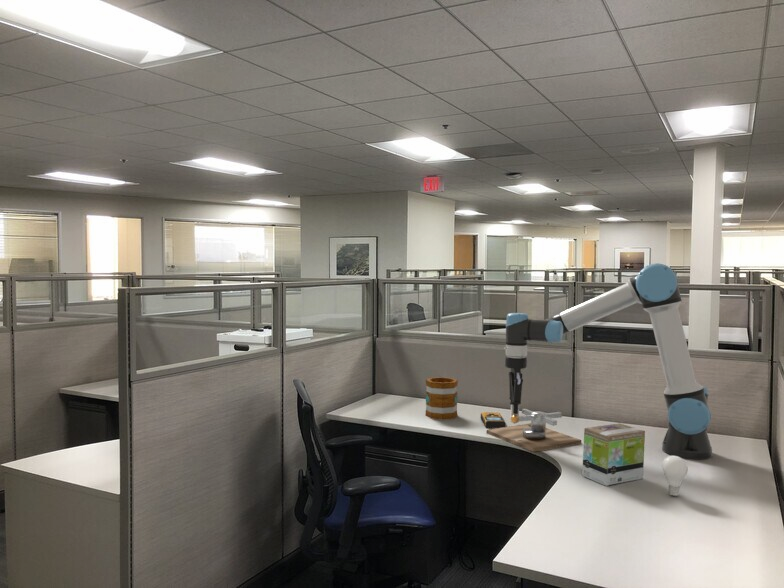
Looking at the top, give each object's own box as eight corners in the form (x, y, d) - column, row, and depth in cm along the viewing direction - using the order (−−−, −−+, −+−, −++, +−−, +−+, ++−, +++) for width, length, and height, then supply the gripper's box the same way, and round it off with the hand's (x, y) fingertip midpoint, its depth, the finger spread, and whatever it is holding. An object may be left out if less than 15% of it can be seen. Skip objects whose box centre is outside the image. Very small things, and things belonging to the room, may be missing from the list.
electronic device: (500, 419, 247) (500, 411, 247) (506, 429, 232) (506, 421, 232) (479, 419, 248) (479, 411, 247) (484, 429, 232) (484, 420, 232)
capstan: (544, 427, 228) (544, 405, 228) (577, 440, 210) (577, 416, 210) (496, 432, 221) (497, 409, 220) (526, 446, 203) (527, 421, 203)
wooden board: (581, 443, 212) (581, 439, 212) (533, 451, 202) (533, 447, 202) (531, 426, 235) (531, 422, 235) (486, 433, 225) (486, 429, 225)
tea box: (607, 487, 169) (608, 435, 169) (581, 476, 178) (582, 427, 178) (644, 479, 176) (645, 429, 176) (617, 469, 185) (618, 421, 185)
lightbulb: (685, 502, 159) (686, 461, 158) (659, 497, 162) (660, 457, 162) (688, 494, 164) (689, 455, 164) (662, 490, 168) (664, 451, 167)
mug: (459, 419, 244) (459, 383, 244) (426, 419, 245) (426, 383, 244) (454, 408, 264) (455, 374, 263) (424, 408, 264) (424, 374, 264)
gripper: (502, 353, 220) (500, 417, 221) (508, 359, 207) (507, 426, 208) (522, 353, 220) (521, 417, 221) (530, 359, 207) (529, 427, 208)
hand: (514, 421), depth 214 cm, fingers closed
